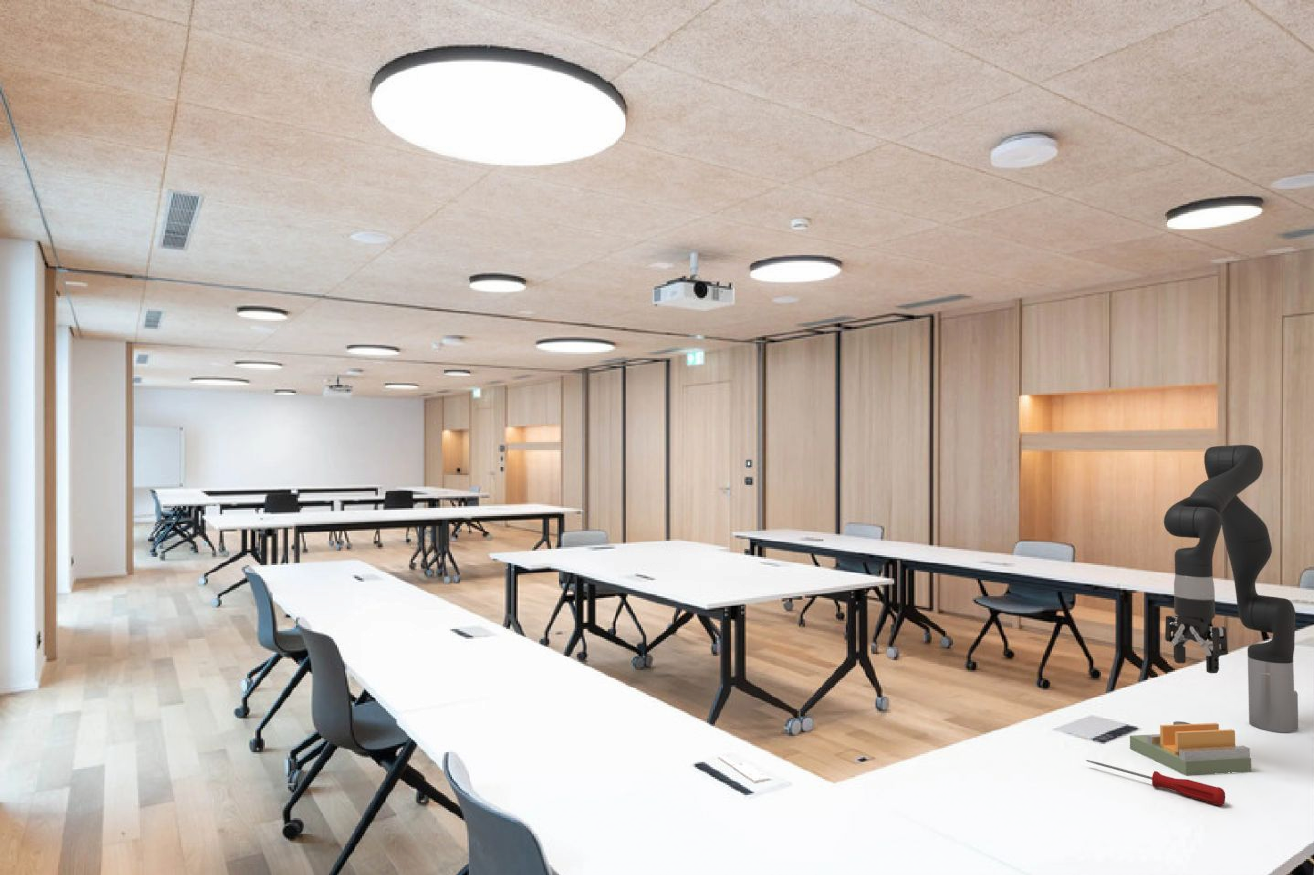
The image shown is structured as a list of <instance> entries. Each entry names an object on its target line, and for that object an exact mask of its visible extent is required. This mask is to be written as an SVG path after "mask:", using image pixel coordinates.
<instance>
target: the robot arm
mask: <svg viewBox="0 0 1314 875" xmlns="http://www.w3.org/2000/svg"><path fill="white" fill-rule="evenodd" d="M1203 458H1204V460H1203V461H1204V462H1203V463H1204V469H1205V474H1206V476H1207V479H1206V480H1204V481H1203V482H1201V483H1200V484H1199V485H1197V486H1196V487H1195V488H1194V490H1193V491H1192V493H1191V494H1190V496H1187V497H1185V498H1183V499H1182V500H1180V501H1177V502H1176V503H1174V504H1173V505H1172V506H1170V507H1168V508H1169V509H1167V511H1166V513H1165V514H1164V517H1163V518H1164V519H1163V526H1164V528H1165V530H1166V532H1168V533H1169V534H1170V535H1172V536H1173V537H1177V538H1178V537H1179V538H1187V539H1188V538H1189V539H1190V538H1191V539H1192V538H1193V539H1199V540H1198V543H1196V545H1195V546H1193V547H1192V546H1191V547H1190V546H1189V547H1183V548H1178V549H1176V550H1175V552H1174V580H1173V581H1174V582H1173V596H1174V600H1173V601H1174V602H1173V606H1174V607H1173V608H1174V611H1173V612H1174V614H1175V615H1166V616H1165V632H1164V635H1165V636H1164V639H1165V641H1166V642H1169V643H1170V644H1171V645H1172V646H1173V660H1174V662H1175V663H1176V664H1185V663H1186V662H1187V660H1186V658H1187V655H1186V646H1185V645H1186V643H1187V642H1188V641H1192V642H1194V643H1195V642H1196V643H1198V645H1199V646H1200V648H1201V647H1202V648H1203V651H1204V652H1205V654H1206V655H1205V664H1206V665H1205V667H1206V668H1205V669H1206V672H1207V673H1208V674H1217V673H1218V672H1219V670H1220V656H1227V655H1228V654H1229V650H1228V638H1227V637H1228V636H1227V628H1226V627H1225V626H1214V625H1213V620H1214V619H1215V617H1216V600H1215V596H1216V595H1215V592H1216V591H1215V582H1214V576H1213V574H1214V573H1213V569H1214V568H1213V566H1214V565H1213V558H1214V557H1213V556H1214V552H1215V549H1216V548H1215V547H1216V545H1217V544H1216V543H1217V540H1218V538H1219V536H1220V532H1221V529H1222V534H1223V540H1224V543H1225V547H1226V551H1227V555H1228V559H1229V563H1230V568H1231V571H1232V576H1233V581H1234V582H1233V583H1234V588H1235V597H1236V605H1237V612H1238V617H1239V619H1240V622H1241V624H1242V626H1243V627H1245V628H1246V629H1248V630H1252V631H1258V632H1264V633H1271V634H1272V636H1271V637H1272V638H1271V640H1269V641H1266V642H1260V643H1254V644H1250V645H1248V647H1247V678H1248V679H1247V683H1248V684H1247V685H1248V686H1247V687H1248V689H1247V690H1248V722H1249V725H1250V726H1253V727H1255V728H1257V729H1262V730H1265V731H1270V732H1276V733H1293V732H1296V730H1298V731H1299V705H1298V704H1299V698H1298V696H1299V694H1298V692H1297V691H1296V690H1295V674H1294V669H1295V668H1294V655H1295V654H1294V653H1295V636H1296V635H1295V633H1296V632H1295V631H1296V630H1295V629H1296V609H1295V605H1294V603H1293V602H1292V601H1291V600H1289V599H1288V598H1283V597H1277V596H1269V595H1262V594H1258V593H1257V589H1256V581H1257V578H1258V576H1259V575H1260V573H1261V572H1262V570H1263V568H1264V567H1265V566H1266V564H1267V563H1268V561H1269V560H1270V558H1271V556H1272V552H1273V547H1272V543H1271V538H1270V534H1269V530H1268V526H1267V524H1265V522H1264V520H1262V518H1261V517H1260V516H1259V515H1258V514H1257V513H1255V511H1253V510H1252V509H1251V508H1250V507H1249V506H1248V505H1247V504H1245V502H1243V500H1241V498H1239V496H1238V495H1239V494H1240V493H1242V492H1243V491H1244V490H1246V489H1247V488H1249V486H1250V485H1252V484H1254V483H1255V482H1256V481H1258V479H1259V478H1260V477H1261V475H1262V473H1263V468H1264V461H1263V457H1262V453H1261V451H1260V449H1259V448H1257V447H1256V446H1254V445H1249V444H1236V445H1235V444H1234V445H1217V446H1216V445H1215V446H1211V447H1210V446H1209V447H1208V448H1207V449H1205V452H1204V457H1203Z"/></svg>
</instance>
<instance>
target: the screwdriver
mask: <svg viewBox="0 0 1314 875" xmlns="http://www.w3.org/2000/svg"><path fill="white" fill-rule="evenodd" d="M1085 761H1086V762H1088V763H1091V764H1094V765H1097V766H1102V767H1104V768H1109V769H1111V770H1116V771H1120V772H1122V773H1125V774H1126V773H1127V774H1130V775H1134V776H1138V777H1142V778H1146V779H1148V780H1151V782H1152V783H1151V784H1152V787H1153V788H1157V789H1158V788H1164V789H1168V790H1171V791H1175V792H1177V793H1178V794H1181V795H1183V796H1184V797H1187V798H1191V799H1195V800H1198V801H1202V802H1205V803H1209V804H1212V805H1215V806H1217V805H1218V807H1222V806H1224V805H1225V802H1226V791H1225V790H1224V789H1223V788H1222V787H1220V786H1213V785H1210V784H1206V783H1203V782H1200V781H1195V780H1193V779H1192V780H1191V779H1186V778H1185V779H1184V778H1174V777H1171V776H1167V775H1163V774H1162V773H1160V771H1159V772H1158V771H1157V770H1154V771H1153V772H1152V776H1150V775H1146V774H1143V773H1138V772H1135V771H1131V770H1127V769H1125V768H1122V767H1121V768H1120V767H1117V766H1112V765H1109V764H1105V763H1102V762H1098V761H1094V760H1090V759H1086V760H1085Z"/></svg>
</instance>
